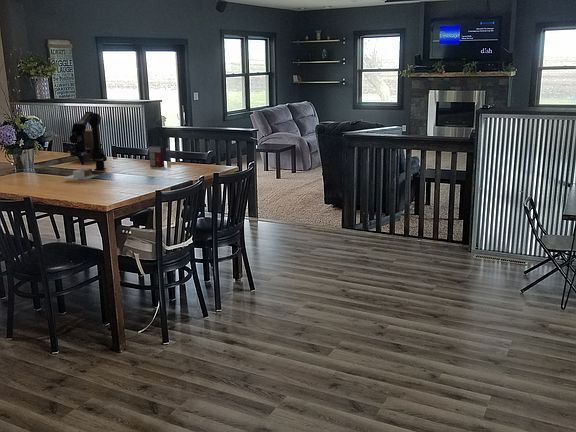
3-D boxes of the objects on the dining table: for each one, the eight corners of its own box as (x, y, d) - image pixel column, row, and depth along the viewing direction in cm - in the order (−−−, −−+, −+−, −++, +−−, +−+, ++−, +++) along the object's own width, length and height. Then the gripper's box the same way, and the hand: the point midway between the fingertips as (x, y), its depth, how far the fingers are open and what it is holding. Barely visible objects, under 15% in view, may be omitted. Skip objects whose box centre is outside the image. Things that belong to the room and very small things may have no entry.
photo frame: (85, 158, 482) (82, 127, 476) (103, 159, 470) (100, 128, 464) (70, 160, 469) (67, 128, 463) (88, 162, 458) (85, 130, 452)
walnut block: (82, 168, 400) (72, 171, 389) (91, 168, 399) (82, 171, 388) (83, 174, 401) (73, 177, 390) (92, 174, 400) (83, 177, 389)
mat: (75, 174, 402) (75, 174, 402) (99, 175, 398) (99, 174, 398) (61, 178, 386) (61, 178, 386) (86, 179, 383) (86, 179, 383)
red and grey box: (149, 166, 436) (148, 146, 432) (152, 165, 439) (151, 145, 436) (161, 167, 431) (160, 147, 428) (164, 166, 435) (163, 146, 431)
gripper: (77, 140, 401) (79, 162, 404) (61, 143, 383) (64, 166, 387) (92, 140, 399) (94, 163, 402) (77, 143, 381) (79, 167, 385)
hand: (82, 165), depth 394 cm, fingers closed
